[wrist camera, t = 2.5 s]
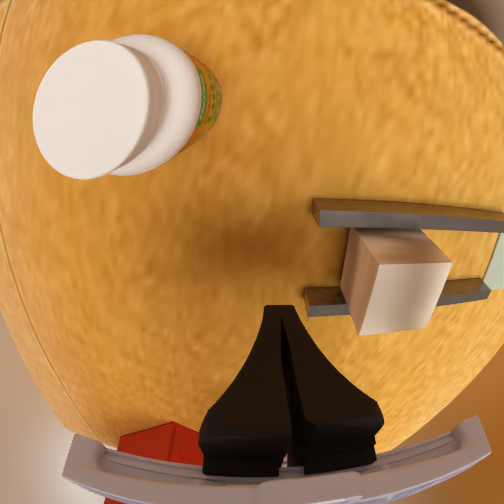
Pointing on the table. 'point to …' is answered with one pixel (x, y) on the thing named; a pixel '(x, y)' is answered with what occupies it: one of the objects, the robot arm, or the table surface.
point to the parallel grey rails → (405, 217)
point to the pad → (496, 266)
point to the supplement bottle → (122, 106)
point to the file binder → (163, 446)
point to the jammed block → (392, 279)
